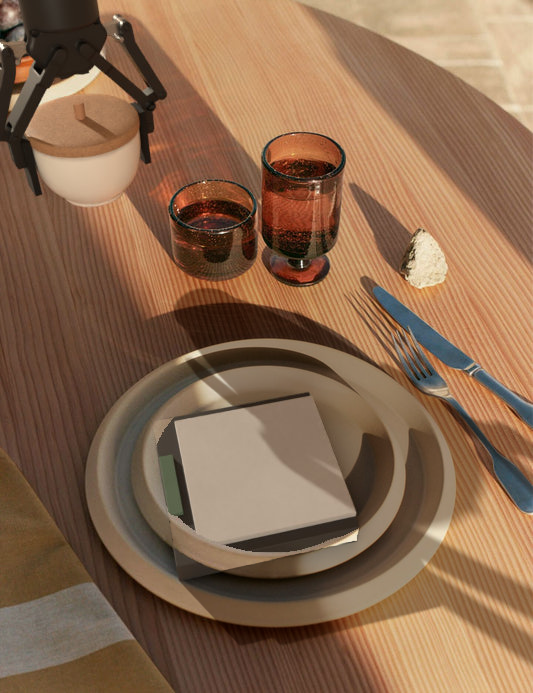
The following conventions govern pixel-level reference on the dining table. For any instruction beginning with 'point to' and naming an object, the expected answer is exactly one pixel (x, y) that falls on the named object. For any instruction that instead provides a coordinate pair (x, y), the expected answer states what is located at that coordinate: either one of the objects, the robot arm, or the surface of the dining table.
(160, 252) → the dining table surface
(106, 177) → the lidded bowl
